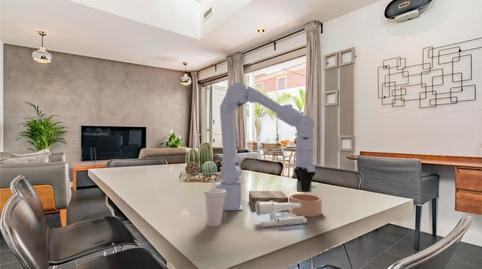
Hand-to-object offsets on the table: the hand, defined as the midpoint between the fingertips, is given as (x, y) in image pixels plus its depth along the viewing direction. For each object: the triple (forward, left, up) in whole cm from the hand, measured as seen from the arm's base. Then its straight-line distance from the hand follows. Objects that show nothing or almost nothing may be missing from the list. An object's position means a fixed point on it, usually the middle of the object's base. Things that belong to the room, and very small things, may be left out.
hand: (303, 190), depth 84 cm
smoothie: (-30, -11, -8) cm, 33 cm away
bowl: (+1, 0, -7) cm, 7 cm away
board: (-11, +9, -7) cm, 16 cm away
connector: (0, 0, 0) cm, 0 cm away
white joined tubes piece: (-10, -11, -8) cm, 17 cm away
